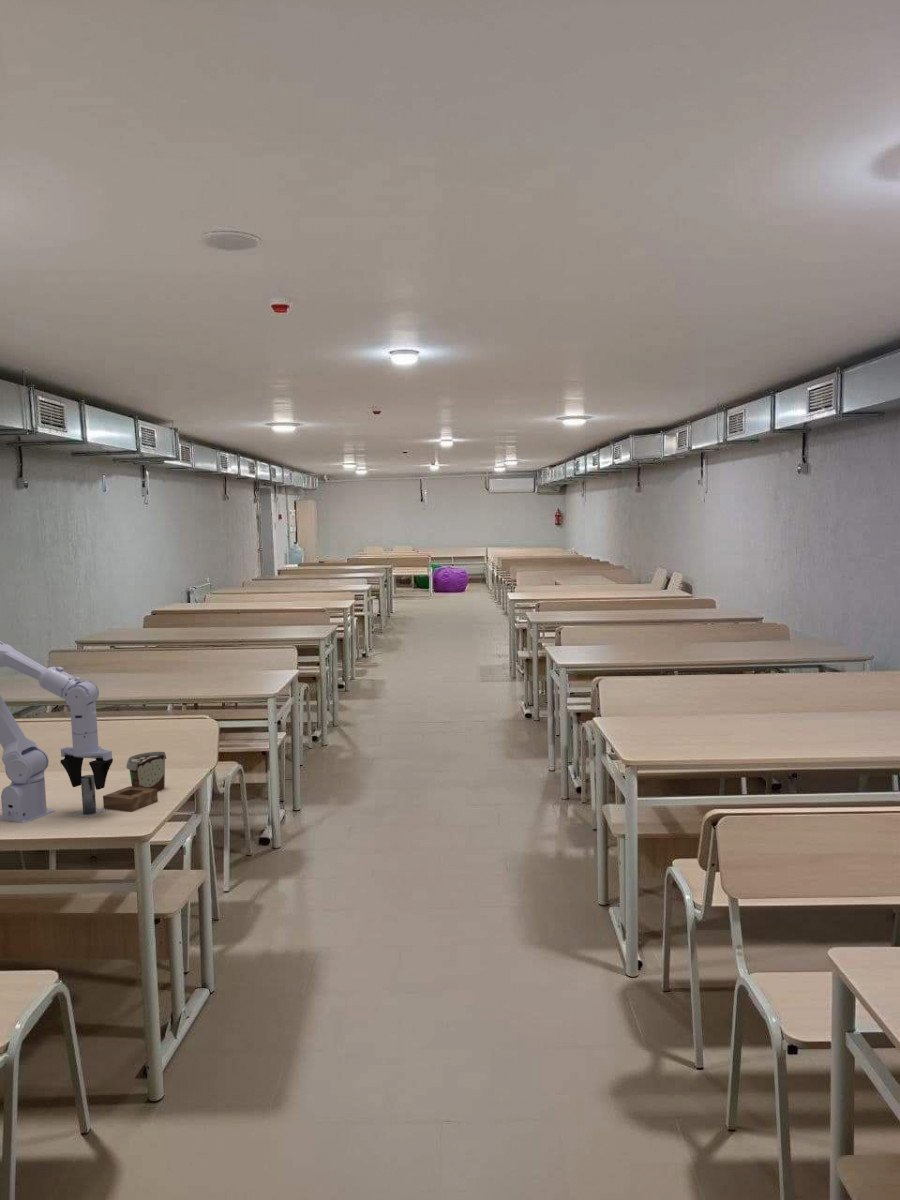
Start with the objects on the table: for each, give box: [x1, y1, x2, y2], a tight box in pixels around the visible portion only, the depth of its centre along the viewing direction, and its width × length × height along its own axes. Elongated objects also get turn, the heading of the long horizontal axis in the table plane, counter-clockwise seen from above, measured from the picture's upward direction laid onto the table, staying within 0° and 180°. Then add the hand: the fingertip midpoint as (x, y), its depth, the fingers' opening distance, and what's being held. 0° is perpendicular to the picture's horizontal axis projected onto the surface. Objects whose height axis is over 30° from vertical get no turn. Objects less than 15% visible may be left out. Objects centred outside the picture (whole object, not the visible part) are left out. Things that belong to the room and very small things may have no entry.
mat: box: [70, 808, 109, 819], centre depth 215 cm, size 6×6×1 cm
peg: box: [80, 774, 97, 815], centre depth 215 cm, size 3×3×9 cm
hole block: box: [102, 785, 159, 813], centre depth 221 cm, size 9×9×4 cm
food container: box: [125, 751, 167, 793], centre depth 232 cm, size 12×6×10 cm, turn 160°
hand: (88, 787), depth 215 cm, fingers open, 7 cm apart
